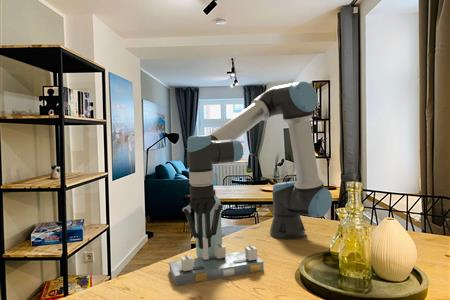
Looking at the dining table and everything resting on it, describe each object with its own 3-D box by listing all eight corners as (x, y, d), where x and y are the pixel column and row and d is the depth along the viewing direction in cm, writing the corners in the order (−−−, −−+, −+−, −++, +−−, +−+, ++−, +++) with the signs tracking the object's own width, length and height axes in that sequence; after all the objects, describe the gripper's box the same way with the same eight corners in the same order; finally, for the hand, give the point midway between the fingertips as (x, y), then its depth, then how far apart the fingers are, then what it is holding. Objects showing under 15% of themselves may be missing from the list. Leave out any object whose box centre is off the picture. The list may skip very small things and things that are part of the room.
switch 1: (190, 266, 108) (190, 254, 107) (192, 269, 105) (192, 257, 105) (181, 267, 107) (181, 255, 106) (183, 271, 104) (182, 258, 104)
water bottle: (219, 262, 119) (216, 192, 118) (192, 261, 121) (189, 192, 120) (225, 252, 128) (222, 187, 127) (200, 252, 130) (197, 187, 129)
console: (250, 258, 122) (249, 249, 122) (263, 270, 110) (263, 261, 110) (169, 271, 113) (169, 261, 113) (175, 286, 101) (175, 275, 101)
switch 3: (253, 256, 114) (253, 244, 114) (257, 259, 111) (256, 247, 111) (245, 257, 113) (245, 246, 113) (248, 260, 110) (248, 248, 110)
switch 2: (223, 254, 117) (222, 243, 117) (225, 257, 114) (225, 245, 114) (214, 255, 116) (214, 244, 116) (217, 258, 113) (216, 247, 113)
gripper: (217, 181, 112) (221, 250, 113) (178, 184, 108) (183, 257, 109) (224, 184, 105) (228, 258, 106) (183, 188, 101) (187, 265, 102)
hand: (205, 257), depth 107 cm, fingers closed
